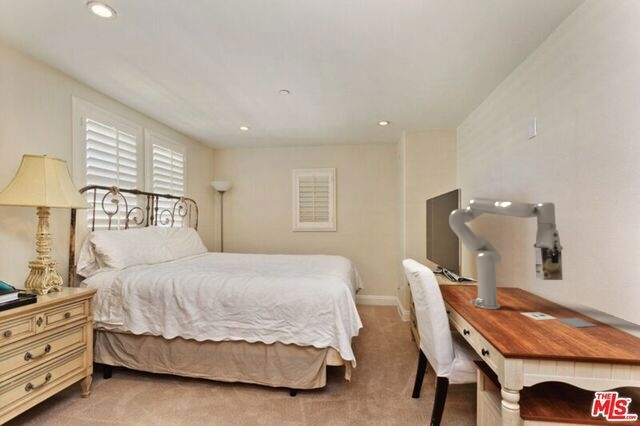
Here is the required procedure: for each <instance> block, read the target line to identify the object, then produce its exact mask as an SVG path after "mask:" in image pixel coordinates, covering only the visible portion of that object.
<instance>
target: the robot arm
mask: <svg viewBox="0 0 640 426" xmlns="http://www.w3.org/2000/svg"><path fill="white" fill-rule="evenodd" d="M555 209H556V208H555V203H553V202H540V203H539V202H538V203H529V202H517V201H508V200H503V199H497V198H488V197H473V198H471V199H470V200H469V203H468V206H467V207H466V208H457V209H454V210H453V211H451V212H450V214H449V217H448V224H449V227H450V228H451V230H452V231H453V233H455V235H456V236H457V237H458V239H459V240H460V242H462V244H463V245H464V246H465V248H466V249H467V250H468V251H469V252H471V253H477V255H476V257H475V265H476V266H475V267H476V274H477V297H476V298H475V299H470V300H469V303H470V304H475V305H474V306H475V307H477V308H480V309H485V310H498V309H500V308H501V304H499V303H498V295H497V272H496V266H498V265H500V263H501V261H502V256H501V254H500V253H499V251H498V250H497V249H496V248H495V246H494V245H493V244H492V243H491V242H490V241H489V239H487V238H486V237H485V236H482V235H476V233H474V231H473V230H472V229H471V228H470V227H469V226H468V225H467V224H466V223H470V222H472V221H474V220H475V219H477V218H479V217H480V216H481V215H483V214H491V215H498V216H500V215H501V216H509V217H515V218H517V217H518V218H521V219H522V218H523V219H524V218H525V219H526V218H527V219H528V218H536V222H537V223H536V225H537V227H536V228H537V230H536V235H535V242H536V243H534V244H533V247H534V248H535V247H546V248H548V249H549V250H550V251H551V253H552V255H551V259H552V263H559V260H558V255H559V253H560V252H561V253H562V251H563V250H564V247H563V246H562V245H561V239H560V235H559V230H558V229H557V222H556V210H555ZM553 248H555V249H553ZM557 248H558V249H557ZM554 250H555V252H554Z"/></svg>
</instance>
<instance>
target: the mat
mask: <svg viewBox="0 0 640 426" xmlns="http://www.w3.org/2000/svg"><path fill="white" fill-rule="evenodd" d="M555 321H558V322H560V323H563V324H565V325H569V326H571V327H573V328H576V329H577V328H591V327H592V328H594V327H599V325H598V324H596V323H595V324H594V323H591V322H588V321H586V320H583V319H580V318H577V317H572V318H570V317H569V318H557V319H555Z"/></svg>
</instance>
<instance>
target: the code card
mask: <svg viewBox="0 0 640 426" xmlns="http://www.w3.org/2000/svg"><path fill="white" fill-rule="evenodd" d="M520 314H521V315H523V316H526V317H527V318H528V317H529V318H531V319H534V320H536V321H545V320H548V321H549V320H556V319H558V318H557V317H553V316H552V315H549V314H546V313H543V312H541V311H536V312H535V311H534V312H520Z"/></svg>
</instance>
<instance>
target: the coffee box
mask: <svg viewBox="0 0 640 426" xmlns="http://www.w3.org/2000/svg"><path fill="white" fill-rule="evenodd" d="M553 249H555V248H553ZM557 249H558V248H557ZM554 252H555V250H554ZM534 255H535V257H534V258H535V261H534V263H535V278H536V279H540V280H542V281H563V259H562V257H563V256H562V251H561V252H560V253H559V255H558V260H559V263H552V259H551V255H552V253H551V251H550V250H549V249H548V248H546V247H534Z"/></svg>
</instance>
